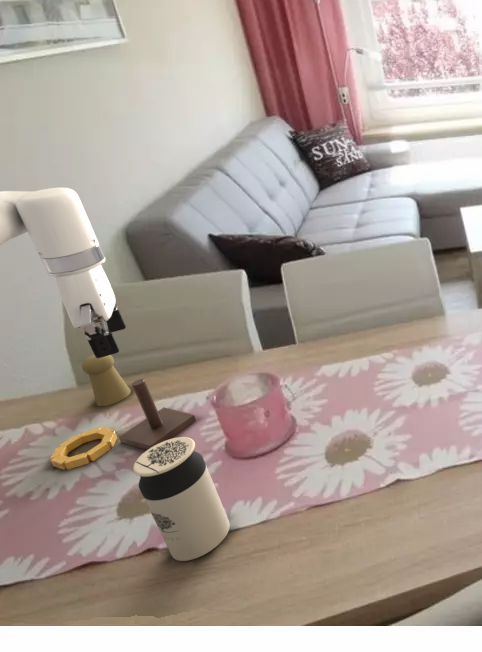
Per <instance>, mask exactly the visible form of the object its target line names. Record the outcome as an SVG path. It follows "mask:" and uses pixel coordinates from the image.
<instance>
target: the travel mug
mask: <svg viewBox="0 0 482 652" xmlns="http://www.w3.org/2000/svg"><path fill="white" fill-rule="evenodd" d="M195 448H196V443H195V440H194V439H192V438H190V437H187V436H186V437H185V436H180V437H172V438H171V439H169V440H166V441H164V442H161V443H159V444H157V445H155V446H153V447H151V448H150V449H148V450H146V451H144V452H143V453H142V454H141V455H139V457H138V458H137V459H136V461H135V462H134V464H133V467H132V471H133V473H134V475H136V476H139V477H140V478H139V481H138V489H139V491H140V493H141V495H142V498H143V499H144V501H145V503H146V505H147V508H148V510H149V512H150V514H151V516H152V518H153V521H154V522H155V524H156V526H157V528H158V531H159V532H160V535H161V537H162V538H163V541H164V543H165V545H166V547H167V550H168V551H169V553H170V555H171V557H172V558H173V559H174V560H176V561H180V562H187V561H191V560H195V559H198V558H200V557H202V556H204V555H206V554H208V553H210V552H211V551H212V550H214V549H215V548H216V547H217V546H219V545H220V544H221V543H222V542H223V540H225V538H226V537H227V535H228V533H229V531H230V529H231V528H230V527H231V523H230V520H229V518H228V515H227V512H226V510H225V508H224V506H223V503H222V501H221V498H220V496H219V494H218V491H217V488H216V487H215V484H214V481H213V479H212V476H211V474H210V472H209V471H210V470H209V469H208V467H207V466H208V465H207V463H206V462H205V459H204V456H203V455H202V453H200V452H198V451H196V450H195Z"/></svg>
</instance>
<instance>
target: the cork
mask: <svg viewBox="0 0 482 652" xmlns="http://www.w3.org/2000/svg"><path fill="white" fill-rule="evenodd" d="M114 364H115V359H114V356H112V355H108V356H105V357H101V358H96V357H95V355H94V354H93V355H90V356H88V357H87V358H85V359H84V360H83V361H82V363H81V369H82V371H83V372H84V373H85V374H87V375H88V376H89V380H90V384H91V389H92V392H93V396H94V401H95V404H96V406H99V407H107V406H111V405H113V404H117V403H119V402H121V401H123V400H124V399H126V398H127V397H129V395H130V394H131V391H132V390H131V389H130V387H129V386H128V384H127V383H126V382H125V380H124V379H123V377H122V376H121V375H120V373H119V372H118V371H117V368H115V366H114Z"/></svg>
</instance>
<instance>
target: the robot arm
mask: <svg viewBox="0 0 482 652" xmlns="http://www.w3.org/2000/svg"><path fill="white" fill-rule="evenodd" d="M25 233H28V235H29V237H30V239H31V241H32V244H33V246H34V248H35V250H36V252H37V254H38V256H39V258H40V260H41V262H42V264H43V267H44V268H45V270H46V273H47V274H48V276H50V277H54V278H55V283H56V287H57V289H58V292H59V295H60V298H61V301H62V303H63V305H64V309H65V311H66V313H67V315H68V319H69V320H70V323H71V325H72V327H73V328H74V329H80V328H81V327H82V329H83V330H84V331H83V332H84V335H85V338H86V340H87V342H88V345H89V347H90V349H91V351H92V353H93V355H95V357H96V358H101V357H105V356H108V355H111V356H112V355H115V354H118V353H119V352H120V347H119V345H118V343H117V341H116V338H115V337H114V335H113V333H115V332H120V331H123V330H125V329H126V328H127V326H126V322H125V320H124V318H123V316H122V314H121V311H120V309H118V305H117V302H116V301H117V300H116V294H115V293H114V290H113V287H112V285H111V283H110V281H109V278H108V276H107V274H106V272H105V270H104V268H103V265H102V264H104V263H105V262H106V257H105V254H104V252H103V250H102V247H101V245H100V242H99V240H98V237H97V236H96V233H95V231H94V228H93V225H92V224H91V221H90V219H89V217H88V215H87V212H86V209H85V208H84V205H83V203H82V201H81V198H80V196H79V194H78V193H77V192H76V191H75V190H74V189H72V188H69V187H49V188H44V189H39V190H35V191H30V190H26V191H24V190H3V191H1V190H0V246H1V245H3V244H5V243H7V242H8V241H10V240H12V239H14V238H17V237H18V236H21V235H23V234H25ZM96 325H97V326H96ZM99 325H100V326H99Z"/></svg>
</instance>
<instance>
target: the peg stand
mask: <svg viewBox="0 0 482 652" xmlns="http://www.w3.org/2000/svg"><path fill="white" fill-rule="evenodd" d="M131 386H132V389H133V391H134V393H135V396H136V398H137V400H138V402H139V405H140V407H141V409H142V411H143V414H144V416H145V419H144V420H142V421H140V422H139V423H137V424H136V425H134V426H132V427H131V428H130V429H128V430H127V431H125V432H123V433H122V434H120V435H119V436H118V440H119V441H120V443H122V444H124V445H128V446H133V447H135V448H138V449H143V450H146V451H147V450H148V449H150V448H151V447H153V446H155V445H157V444H159V443H161V442H164V441H166V440H169V439H173V438H174V437H175V436H176V435H178V434H179V433H181V432H182V431H183V430H185V429H187V427H189V426H190V425H192V424H193V423H195V422H196V421H197V419H196V417H195V415H194V414H192V413H187V412H185V411H181V410H176V409H172V408H168V407H162V408H161V409H159V410H158V408H157V406H156V403H155V401H154V399H153V396H152V394H151V392H150V390H149V388H148V385H147V383H146V381H145V379H144V378H143V379H142V378H140V379H136V380H135V381H133V382H132V383H131Z"/></svg>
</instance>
